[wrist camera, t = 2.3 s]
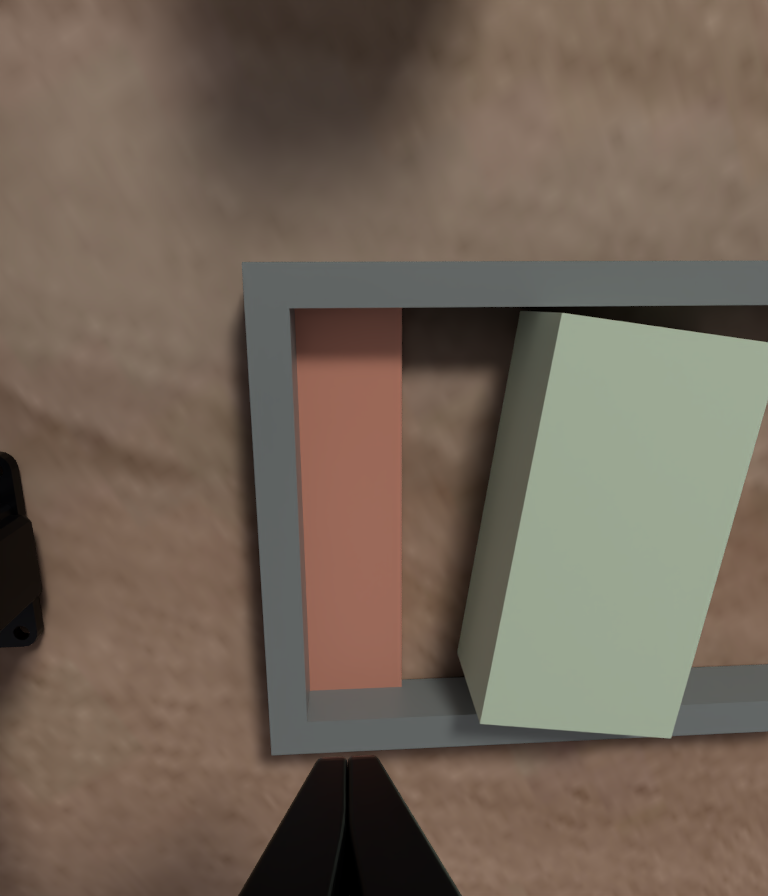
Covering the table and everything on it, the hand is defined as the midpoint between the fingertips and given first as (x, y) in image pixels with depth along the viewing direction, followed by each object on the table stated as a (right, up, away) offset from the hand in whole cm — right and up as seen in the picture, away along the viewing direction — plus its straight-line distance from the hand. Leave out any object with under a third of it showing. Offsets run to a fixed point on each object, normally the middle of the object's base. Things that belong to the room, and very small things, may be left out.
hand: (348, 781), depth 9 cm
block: (+7, +3, +12) cm, 14 cm away
